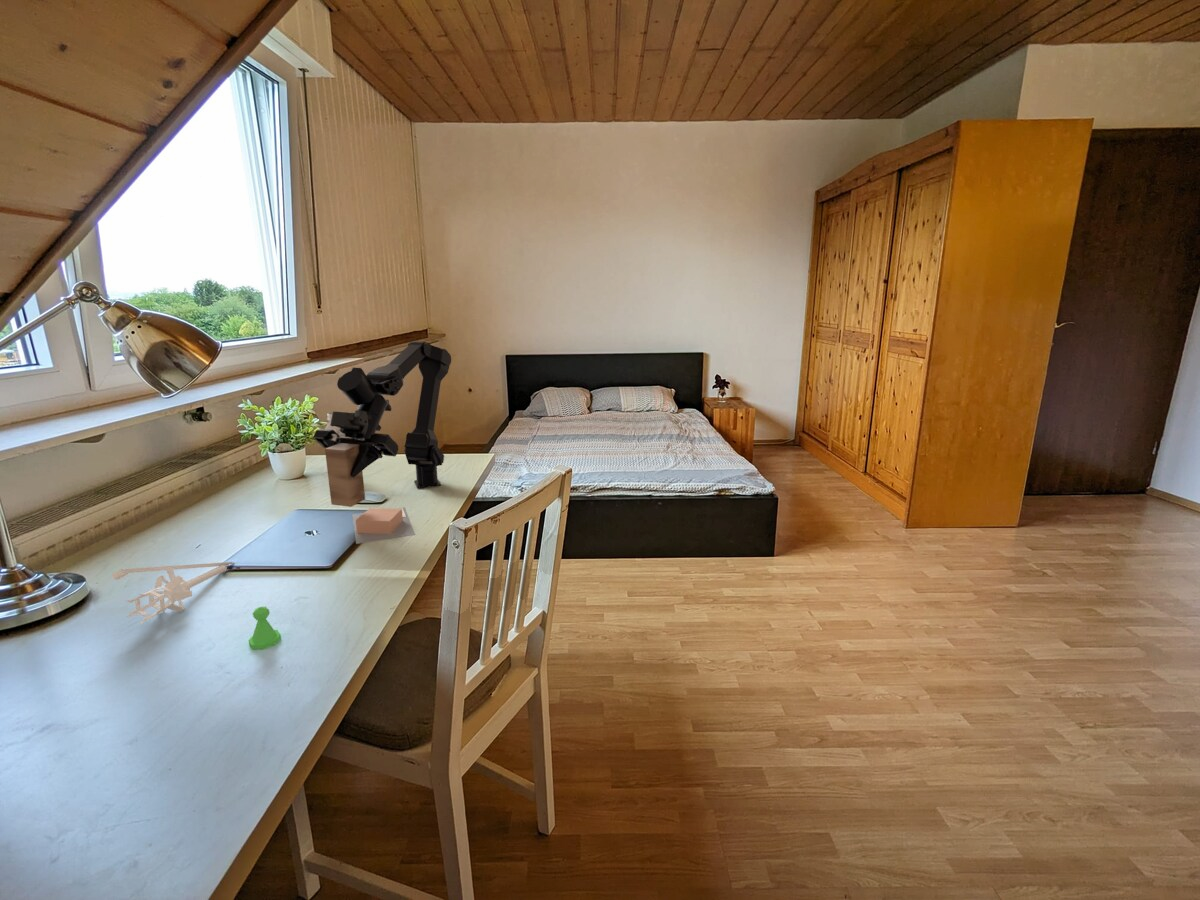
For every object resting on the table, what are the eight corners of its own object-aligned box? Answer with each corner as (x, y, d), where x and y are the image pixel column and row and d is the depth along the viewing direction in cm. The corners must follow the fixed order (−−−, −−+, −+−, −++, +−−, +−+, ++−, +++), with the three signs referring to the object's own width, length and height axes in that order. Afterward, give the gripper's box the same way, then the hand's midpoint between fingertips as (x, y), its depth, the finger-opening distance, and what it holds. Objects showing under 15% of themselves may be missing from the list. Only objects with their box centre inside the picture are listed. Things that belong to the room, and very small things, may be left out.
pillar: (346, 497, 129) (340, 443, 125) (365, 499, 128) (359, 444, 124) (331, 504, 124) (324, 448, 121) (350, 506, 123) (344, 450, 120)
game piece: (252, 636, 87) (246, 602, 86) (283, 631, 89) (278, 597, 87) (246, 652, 83) (240, 617, 82) (278, 646, 85) (273, 611, 83)
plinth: (371, 519, 130) (370, 508, 130) (402, 520, 130) (401, 508, 130) (356, 532, 123) (355, 520, 122) (390, 533, 123) (389, 521, 122)
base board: (352, 518, 134) (352, 513, 133) (404, 511, 139) (404, 506, 138) (356, 548, 118) (356, 542, 118) (415, 538, 123) (415, 533, 123)
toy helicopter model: (237, 611, 109) (116, 633, 84) (220, 570, 111) (97, 580, 86) (265, 595, 109) (152, 612, 84) (248, 555, 111) (133, 560, 86)
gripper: (313, 394, 126) (282, 453, 118) (386, 399, 121) (359, 461, 114) (340, 420, 135) (313, 477, 128) (409, 426, 131) (385, 485, 123)
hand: (341, 475), depth 123 cm, fingers closed on pillar, 5 cm apart
